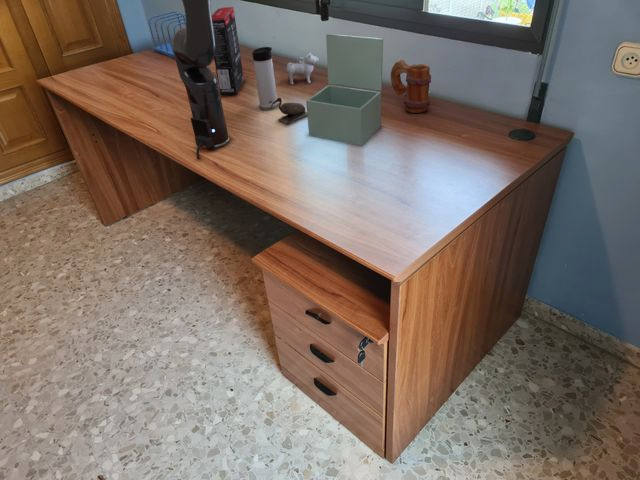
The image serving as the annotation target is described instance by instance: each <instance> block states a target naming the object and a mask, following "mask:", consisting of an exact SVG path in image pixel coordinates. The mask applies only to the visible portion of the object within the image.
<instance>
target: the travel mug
mask: <svg viewBox="0 0 640 480" xmlns="http://www.w3.org/2000/svg"><path fill="white" fill-rule="evenodd" d="M272 50H273V48H272V47H271V46H262V47H258V48H256V49H254V50H253V51H252V54H251V55H252V61H253V68H254V69H253V70H254V75H255V76H254V77H255V81H256V90H257V96H258V103H259V108H260V109H261V110H262V111H263V110H264V111H272V110H275V109H276V108H278V107H279V102H276V103H274V104H273V105H272V103H273V102H274V101H276V100H277V98H278V95H277V88H276V81H275V79H276V78H275V72H274V71H275V70H274V64H273V57H272ZM271 105H272V107H271ZM270 108H271V110H270Z"/></svg>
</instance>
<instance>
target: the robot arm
mask: <svg viewBox="0 0 640 480" xmlns="http://www.w3.org/2000/svg"><path fill="white" fill-rule="evenodd" d="M211 1H212V0H181V2H182V6H183V10H184V15H185V16H184V17H185V18H186V19H185V21H186V26H185V27H181V28H182V29H180V28H179V29H178V30H177V31H175V35H174V34H173V38H172V42H173V44H172V45H173V53H174V57H175V58H174V61H175V64H176V66H177V70H178V71H177V72H178V74H179V77H180V80H181V81H182V83H183V85H184V87H185V91H186V95H187V100H188V104H189V108H190V112H191V117H190V123H191V126H192V131H193V135H194V141H195V145H196V147H197V148H196V152H195V156H196V159H197V160H200V159H201V156H200V150H201V149H204V150H209V151H214V150H217V149H220V148H223V147H225V146H226V145H228V144H229V143H230V136H229V132H228V131H229V130H228V127H227V122H226V118H225V112H224V106H223V102H222V97H221V95H220V89H219V84H218V78H217V75H216V74H215V73H214V72H213V70H212V69H211V68H210V65H211V64H212V63H213V61H214V57H215V51H216V46H215V37H214V30H213V23H212V15H213V14H212V3H211ZM314 3H315V13H316V15H320V20H321V22H328V21H329V20H330V17H329V16H330V13H329V7H330V5H331V0H314Z"/></svg>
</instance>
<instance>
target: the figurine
mask: <svg viewBox="0 0 640 480" xmlns="http://www.w3.org/2000/svg"><path fill="white" fill-rule="evenodd" d="M276 102H277V103H278V109H279V111H280V113H282V114H283V116H280V118H278V122H279V123H281V124H283V125H286V126H289V125H291V124H294V123H296V122H298V121H301V120H303V119H305V118H308V117H307V111H306V106H305V105H304V104H302V103H300V102H284V103H283V100H282V98H281V97H277V100H276V101H274V102H273V103H272V105H273V104H274V103H276ZM272 105H271V107H272ZM269 111H272V110H271V108H270V110H269Z"/></svg>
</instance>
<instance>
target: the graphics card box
mask: <svg viewBox="0 0 640 480" xmlns="http://www.w3.org/2000/svg"><path fill="white" fill-rule="evenodd" d="M234 9H235V8H234V7H233V6H227V7H220V8H217V9H216V10H215V11H214V12H213V14H211V15H212V23H213V30H214V37H215V46H216V51H215V57H214V59H213V61H214V66H215V72H216V78H217V81H218V86H219V91H220V96H237V95H238V93H239V91H240V89H241V87H242V85H243V83H244V80H245V78H244V71H243V64H242V59H241V58H242V57H241V51H240V49H241V48H240V44H239V37H238V30H237V24H236V23H237V22H236V16H235V10H234Z"/></svg>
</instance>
